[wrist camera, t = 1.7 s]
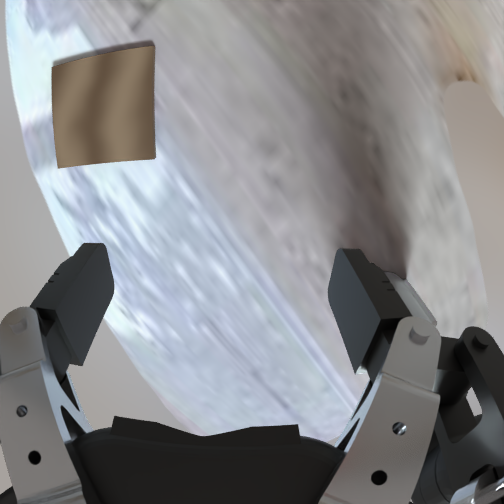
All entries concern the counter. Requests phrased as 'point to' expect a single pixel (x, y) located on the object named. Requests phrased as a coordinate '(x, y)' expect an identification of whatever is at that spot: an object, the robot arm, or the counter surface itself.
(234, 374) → the counter surface
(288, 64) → the counter surface
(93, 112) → the walnut board
